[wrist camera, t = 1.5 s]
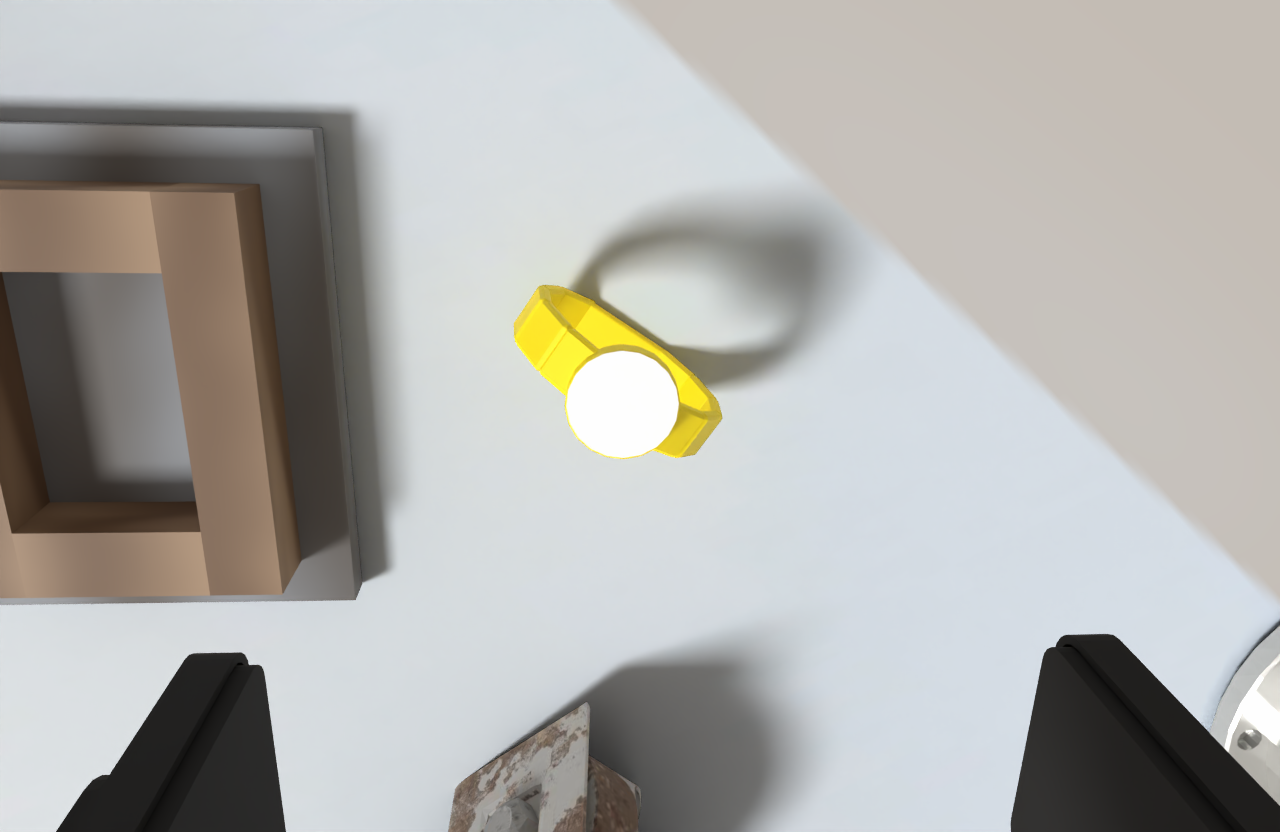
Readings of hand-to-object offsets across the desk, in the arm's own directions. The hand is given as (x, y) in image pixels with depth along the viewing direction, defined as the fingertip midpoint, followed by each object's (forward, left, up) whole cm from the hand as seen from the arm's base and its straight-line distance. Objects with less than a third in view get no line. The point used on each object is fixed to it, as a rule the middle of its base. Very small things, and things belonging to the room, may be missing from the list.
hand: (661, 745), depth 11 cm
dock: (+14, +1, -18) cm, 23 cm away
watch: (0, 0, -18) cm, 18 cm away
